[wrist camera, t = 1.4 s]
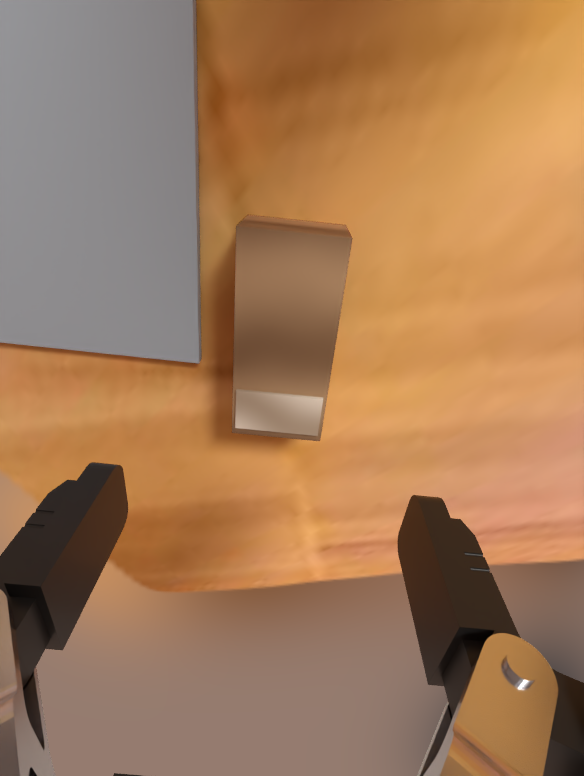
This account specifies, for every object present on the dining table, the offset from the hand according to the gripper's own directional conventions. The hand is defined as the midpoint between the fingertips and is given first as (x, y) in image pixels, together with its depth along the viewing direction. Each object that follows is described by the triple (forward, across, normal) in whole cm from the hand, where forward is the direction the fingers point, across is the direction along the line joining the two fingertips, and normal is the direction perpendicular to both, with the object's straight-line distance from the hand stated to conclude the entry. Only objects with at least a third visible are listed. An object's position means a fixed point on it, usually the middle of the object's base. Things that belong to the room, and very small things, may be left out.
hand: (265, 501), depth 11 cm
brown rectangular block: (+14, 0, 0) cm, 14 cm away
